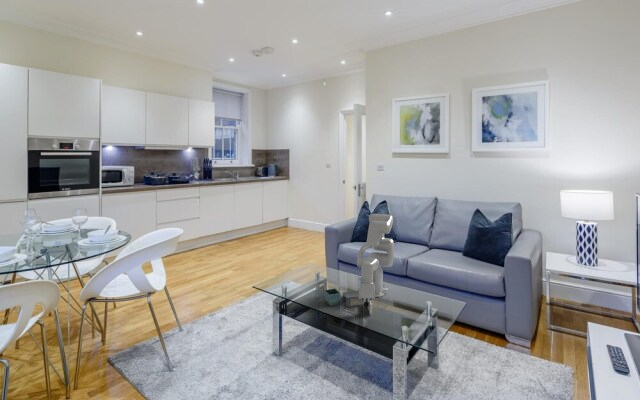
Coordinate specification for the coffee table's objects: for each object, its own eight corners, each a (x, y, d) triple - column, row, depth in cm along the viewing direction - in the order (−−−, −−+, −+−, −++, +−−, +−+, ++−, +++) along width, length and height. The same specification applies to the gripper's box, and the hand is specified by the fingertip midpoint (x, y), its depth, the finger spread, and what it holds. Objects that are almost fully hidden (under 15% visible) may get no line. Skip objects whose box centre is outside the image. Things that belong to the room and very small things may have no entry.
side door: (367, 305, 238) (367, 295, 237) (369, 305, 238) (370, 295, 237) (370, 314, 224) (370, 304, 223) (372, 314, 224) (373, 304, 223)
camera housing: (363, 299, 247) (364, 289, 246) (368, 305, 239) (368, 294, 237) (340, 301, 243) (341, 291, 242) (344, 307, 235) (344, 297, 233)
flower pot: (323, 302, 242) (323, 290, 241) (335, 300, 246) (335, 288, 244) (328, 307, 234) (329, 295, 233) (340, 305, 238) (340, 293, 236)
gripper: (355, 282, 221) (354, 309, 223) (379, 282, 220) (378, 310, 222) (355, 277, 228) (354, 304, 231) (378, 278, 227) (377, 305, 230)
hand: (366, 307), depth 226 cm, fingers closed
